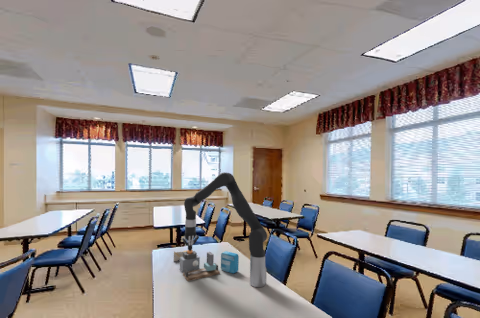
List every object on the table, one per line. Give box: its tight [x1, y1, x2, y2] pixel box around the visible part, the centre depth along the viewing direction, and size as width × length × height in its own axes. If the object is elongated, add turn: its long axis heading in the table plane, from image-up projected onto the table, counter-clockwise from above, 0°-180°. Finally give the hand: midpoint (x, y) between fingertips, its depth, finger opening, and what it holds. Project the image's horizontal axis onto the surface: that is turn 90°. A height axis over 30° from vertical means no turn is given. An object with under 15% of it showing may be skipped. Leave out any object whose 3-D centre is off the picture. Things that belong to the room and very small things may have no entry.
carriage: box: [203, 251, 217, 271], centre depth 158 cm, size 6×7×10 cm
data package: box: [220, 250, 240, 274], centre depth 161 cm, size 12×4×12 cm, turn 57°
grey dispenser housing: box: [179, 250, 201, 273], centre depth 164 cm, size 12×8×11 cm
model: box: [173, 249, 188, 262], centre depth 178 cm, size 3×11×8 cm, turn 113°
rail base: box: [182, 262, 221, 282], centre depth 155 cm, size 22×10×4 cm, turn 121°
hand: (189, 250), depth 164 cm, fingers closed
